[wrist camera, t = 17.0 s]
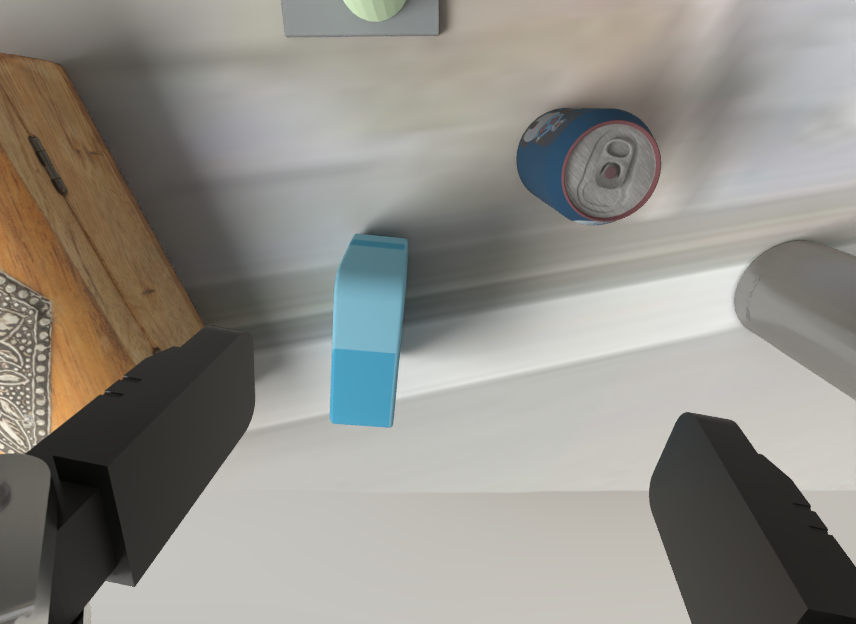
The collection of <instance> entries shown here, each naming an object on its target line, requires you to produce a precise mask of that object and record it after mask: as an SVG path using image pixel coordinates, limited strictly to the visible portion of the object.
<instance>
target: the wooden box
mask: <svg viewBox="0 0 856 624" xmlns="http://www.w3.org/2000/svg"><path fill="white" fill-rule="evenodd" d="M204 327H205V326H204V324H203V322H202V320H201V318H200V317H199V315H198V313H197V311H196V310H195V308H194V306H193V304H192V302H191V301H190V299H189V297H188V295H187V293H186V291H185V289H184V288H183V286H182V284H181V282H180V280H179V279H178V277H177V275H176V273H175V271H174V269H173V267H172V266H171V264H170V262H169V260H168V258H167V256H166V254H165V253H164V251H163V249H162V248H161V246H160V243H159V242H158V240H157V238H156V236H155V234H154V232H153V230H152V229H151V227H150V225H149V223H148V221H147V220H146V218H145V216H144V214H143V213H142V211H141V209H140V207H139V206H138V203H137V202H136V200H135V198H134V196H133V194H132V192H131V190H130V189H129V187H128V185H127V183H126V181H125V179H124V178H123V176H122V174H121V172H120V170H119V168H118V167H117V165H116V163H115V161H114V159H113V157H112V156H111V154H110V152H109V150H108V148H107V146H106V144H105V143H104V141H103V139H102V137H101V136H100V134H99V132H98V130H97V128H96V127H95V125H94V123H93V121H92V119H91V117H90V115H89V114H88V112H87V110H86V108H85V106H84V104H83V103H82V101H81V99H80V97H79V95H78V94H77V92H76V90H75V88H74V86H73V85H72V83H71V81H70V79H69V78H68V76H67V75H66V73H65V71H64V70H63V68H62V67H61V65H59V64H56V63H53V62H49V61H45V60H40V59H35V58H29V57H24V56H18V55H12V54H4V53H0V454H9V453H18V454H25V453H27V452H28V451H29V450H30V449H32V448H33V447H34V446H35V445H37V444H38V443H39V442H40V441H42V440H43V439H44V438H46V437H47V436H48V435H49V434H51V433H52V432H53V431H54V430H56V429H57V428H58V427H59V426H61V425H62V424H63V423H64V422H66V421H67V420H68V419H69V418H71V417H72V416H73V415H74V414H76V413H77V412H78V411H80V410H81V409H82V408H83V407H85V406H86V405H87V404H88V403H90V402H91V401H92V400H93V399H95V398H96V397H97V396H98V395H103V394H104V393H105V390H106V389H107V388H108V387H110V386H111V385H112V384H114V383H115V382H116V381H117V380H119V379H120V380H122V379H123V376H124V375H125V374H126V373H127V372H129V371H130V370H131V369H132V368H134V367H135V366H136V365H137V364H139V363H140V362H141V361H142V360H144V359H145V358H147V357H150V356H152V355H154V354H157V353H159V352H161V351H164V350H166V349H168V348H171V347H173V346H176V347H181V346H182V345H183V344H184V343H186V342H187V341H188V340H189V339H190V338H192V337H193V336H194V335H195V334H196V333H197V332H199V331H200V330H201V329H202V328H204Z"/></svg>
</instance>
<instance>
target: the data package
mask: <svg viewBox="0 0 856 624" xmlns="http://www.w3.org/2000/svg"><path fill="white" fill-rule="evenodd" d="M407 260H408V240H407V239H406V238H397V237H386V236H376V235H366V234H355V235H354V236H353V238H352V240H351V242H350V245H349V247H348V249H347V251H346V253H345V255H344V257H343V259H342V261H341V263H340V266H339V268H338V270H337V274H336V280H335V288H334V309H333V339H332V369H331V398H330V420H331V422H332V423H334V424H346V425H360V426H374V427H388V428H390V427H392V426H393V420H394V410H395V400H396V389H397V378H398V368H399V357H400V346H401V336H402V325H403V315H404V304H405V293H406V280H407Z"/></svg>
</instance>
